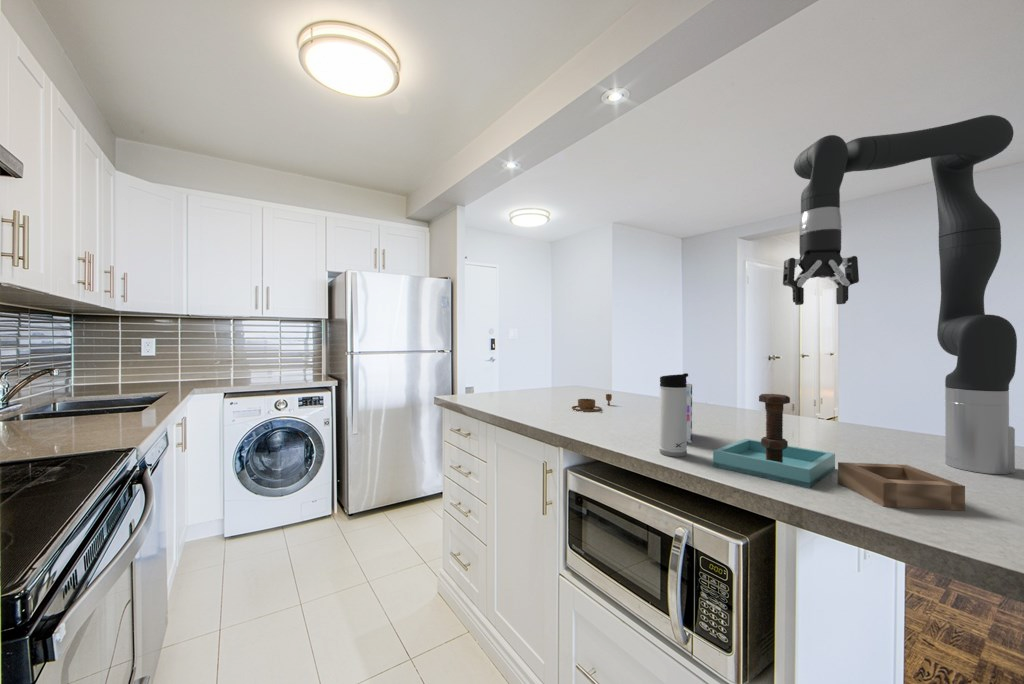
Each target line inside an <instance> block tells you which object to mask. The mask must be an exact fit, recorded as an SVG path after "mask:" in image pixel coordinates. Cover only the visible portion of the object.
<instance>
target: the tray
mask: <svg viewBox="0 0 1024 684" xmlns="http://www.w3.org/2000/svg"><path fill="white" fill-rule="evenodd" d="M782 451H783V452H782V453H783V455H782V456H783V458H782V459H783V461H782V462H783V463H781V462H776V461H771V460H766V447H763V446H762V445H761V440H756V439H750V438H744V439H741V440H739V441H736V442H733V443H730V444H727V445H725V446H722V447H719V448H717V449H716V448H715V449H713V451H712V461H713V462H712V466H713V467H714V468H719V469H724V470H728V471H732V472H737V473H742V474H744V475H750V476H755V477H759V478H763V479H768V480H771V481H777V482H781V483H785V484H789V485H794V486H798V487H802V488H807V489H811V487H813V486H815V484H817V483H819V482H820V481H821V480H823V479H824V478H825V477H827V476H828V475H830V474H831V473H832V472H833V471H835V470H836V453H835V452H829V451H823V450H817V449H816V450H815V449H811V448H806V447H805V448H804V447H798V446H794V445H793V446H792V445H788V447H787V448H786V449H784V450H782Z"/></svg>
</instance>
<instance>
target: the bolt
mask: <svg viewBox="0 0 1024 684" xmlns="http://www.w3.org/2000/svg"><path fill="white" fill-rule="evenodd" d="M758 402H761V403H764V404H765V405H764V409H765V436H763V437H762V438H761V439H760V441H761V445H762V446H763V447H766V460H771V461H776V462H781V463H783V462H782V461H783V459H782V458H783V456H782V455H783V453H782V452H783V451H782V450H784V449H786V448H787V447H788V446H789V444H788V443H789V442H788V440H787V439H785V438H784V437H783V436H784V435H783V432H784V430H783V427H784V422H783V421H784V419H783V418H784V414H783V413H784V405H786V404H790V403H791V397H790V396H788V395H786V394H778V393H761V394H759V396H758Z"/></svg>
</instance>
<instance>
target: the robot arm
mask: <svg viewBox="0 0 1024 684" xmlns="http://www.w3.org/2000/svg"><path fill="white" fill-rule="evenodd" d="M1013 137H1014V128H1013V126H1012V123H1011V122H1010V121H1009V119H1007V118H1005V117H1003V116H1000V115H996V114H987V115H981V116H977V117H972V118H969V119H965V120H962V121H958V122H954V123H950V124H946V125H940V126H935V127H931V128H923V129H919V130H913V131H908V132H907V131H905V132H897V133H891V134H880V135H868V136H861V137H858V138H854V139H851V140H850V141H848V142H846V141H845V140H844V139H843V138H842V137H841V136H839V135H835V134H829V135H826V136H823V137H820V138H819V139H818V140H816V141H815V142H813V144H810V146H808V147H807V148H805V149H804V150H802V152H800V153H799V155H798V156H797V157H796V158H795V160H794V163H793V170H794V172H795V174H796V175H797V176H798V177H800V178H801V179H804V180H809V182H808V183H807V186H806V187H805V188H804V189H803V190H802V192H801V195H800V218H799V228H798V229H799V257H798V258H795V257H790V258H787V259H785V260H784V261H783V274H782V285H783V287H784V286H785V287H786V286H787V287H789V288H791V289H792V302H793V303H795V306H800V305H804V303H805V302H804V301H805V300H804V299H805V297H804V296H805V293H804V292H805V290H804V289H805V288H804V287H803V286H804V285H805V283H806V282H807V281H808V280H809V279H815V278H821V279H822V278H823V279H825V278H828V279H829V280H830V281H831V282H833V284H835V286H836V288H835V289H836V294H835V295H836V297H835V299H836V300H835V301H836V303H835V304H836V305H845V304H847V302H848V301H849V287H850V286H851V285H854V284H858V283H859V282H860V278H859V277H860V276H859V262H858V260H859V259H858V256H857V255H853V256H849V257H843V256H841V251H842V227H843V226H842V214H841V208H840V207H841V203H840V202H841V200H840V199H841V197H840V196H841V195H840V189H841V187H842V186H841V185H842V183H843V180H844V176H845V174H847V173H851V172H852V173H853V172H865V171H873V170H874V171H875V170H881V169H889V168H893V167H897V166H902V165H906V164H909V163H914V162H917V161H922V160H926V159H930V164H931V165H930V166H931V170H932V177H933V181H934V186H935V193H936V201H937V202H936V203H937V215H938V218H937V219H938V254H939V255H938V256H939V271H940V272H939V275H940V277H939V280H940V282H939V283H940V304H939V305H940V306H939V314H938V322H937V334H936V335H937V341H938V344H939V345H940V347H941V348H942V350H944V352H946V353H948V354H949V355H951V356H954V357H955V356H956V357H957V358H956V359H957V361H956V366H955V368H954V370H952V371H951V372H950V373H948V374H946V376H945V378H944V379H945V380H944V382H945V383H944V385H945V386H944V388H945V389H944V390H945V391H944V392H945V394H944V395H945V396H944V399H945V402H944V405H945V414H944V415H945V418H944V419H945V420H944V423H945V427H944V429H945V438H944V439H945V443H944V445H945V446H944V447H945V450H944V451H945V452H944V453H945V454H944V455H945V462H944V463H945V464H946V465H947V466H949V467H951V468H952V467H953V468H955V469H960V470H963V471H969V472H975V473H981V474H991V475H1007V474H1015V470H1016V469H1015V468H1016V467H1015V466H1016V462H1015V461H1016V459H1015V458H1016V455H1015V454H1016V446H1015V445H1016V441H1015V440H1016V432H1015V431H1016V428H1014V427H1013V426H1010V391H1009V390H1010V383H1011V382H1012V380H1013V379H1014V377H1015V374H1016V363H1017V353H1018V351H1017V349H1018V339H1017V338H1018V337H1017V332H1016V329H1015V327H1014V326H1013V325H1012V323H1011V322H1010V321H1009V320H1008V319H1006V318H1005V317H1002V316H1000V315H995V314H985V313H986V311H985V292H986V288H987V286H988V284H989V281H990V279H991V277H992V275H993V274H994V271H995V269H996V267H997V264H998V262H999V259H1000V256H1001V254H1002V253H1001V252H1002V251H1001V250H1002V231H1001V229H1002V228H1001V227H1002V226H1001V222H1000V219H999V217H998V216H997V214H996V213H995V211H993V209H992V208H991V207H990V206H989V205H988V204H987V203H986V202H985V201H984V200H983V199H982V198H981V197H980V196H979V194H978V193H977V191H976V188H975V184H974V166H975V165H978V164H980V163H982V162H984V161H987V160H989V159H991V158H993V157H995V156H997V155H998V154H1000V153H1002V152H1004V151H1005V150H1006V149H1007V148H1008V147H1009V146H1010V144H1011V143H1012V141H1013ZM798 266H799V267H800V268H801V271H800V272H799V274H798V275H797V276H796V278H795V275H796V273H795V272H796V268H798ZM840 266H842V267H843V268H844V272H843V271H842V269H841V268H840Z"/></svg>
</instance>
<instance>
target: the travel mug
mask: <svg viewBox="0 0 1024 684" xmlns="http://www.w3.org/2000/svg"><path fill="white" fill-rule="evenodd" d="M687 377H688V378H689V373H688V372H687V373H686V372H685V373H682V374H681V373H679V374H670V375H662V376H660V377H659V453H660V454H661V455H663V456H666V457H672V458H682V457H685V456H687V455H688V449H687V446H688V443H687V390H686V389H687V385H686V383H688V381H687Z"/></svg>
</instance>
